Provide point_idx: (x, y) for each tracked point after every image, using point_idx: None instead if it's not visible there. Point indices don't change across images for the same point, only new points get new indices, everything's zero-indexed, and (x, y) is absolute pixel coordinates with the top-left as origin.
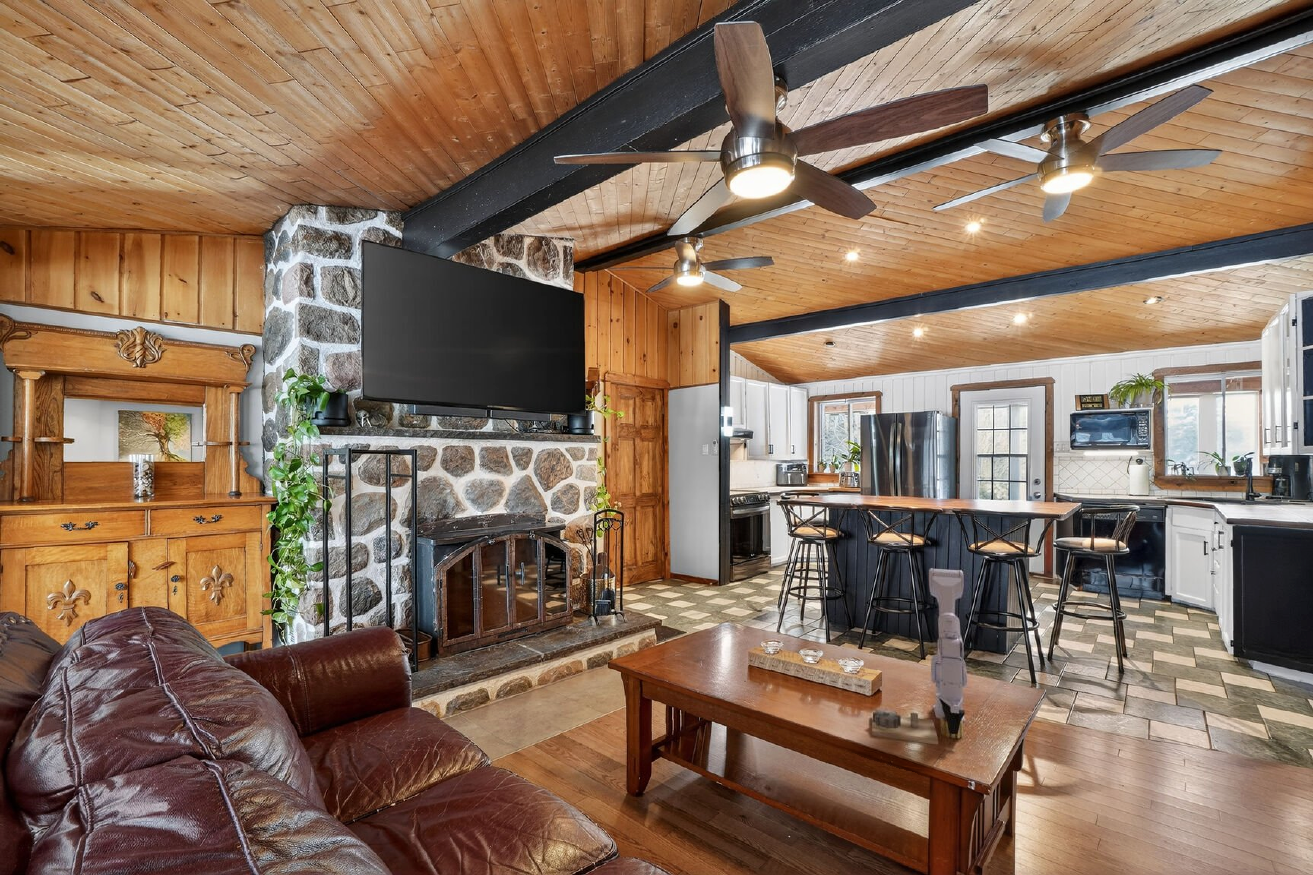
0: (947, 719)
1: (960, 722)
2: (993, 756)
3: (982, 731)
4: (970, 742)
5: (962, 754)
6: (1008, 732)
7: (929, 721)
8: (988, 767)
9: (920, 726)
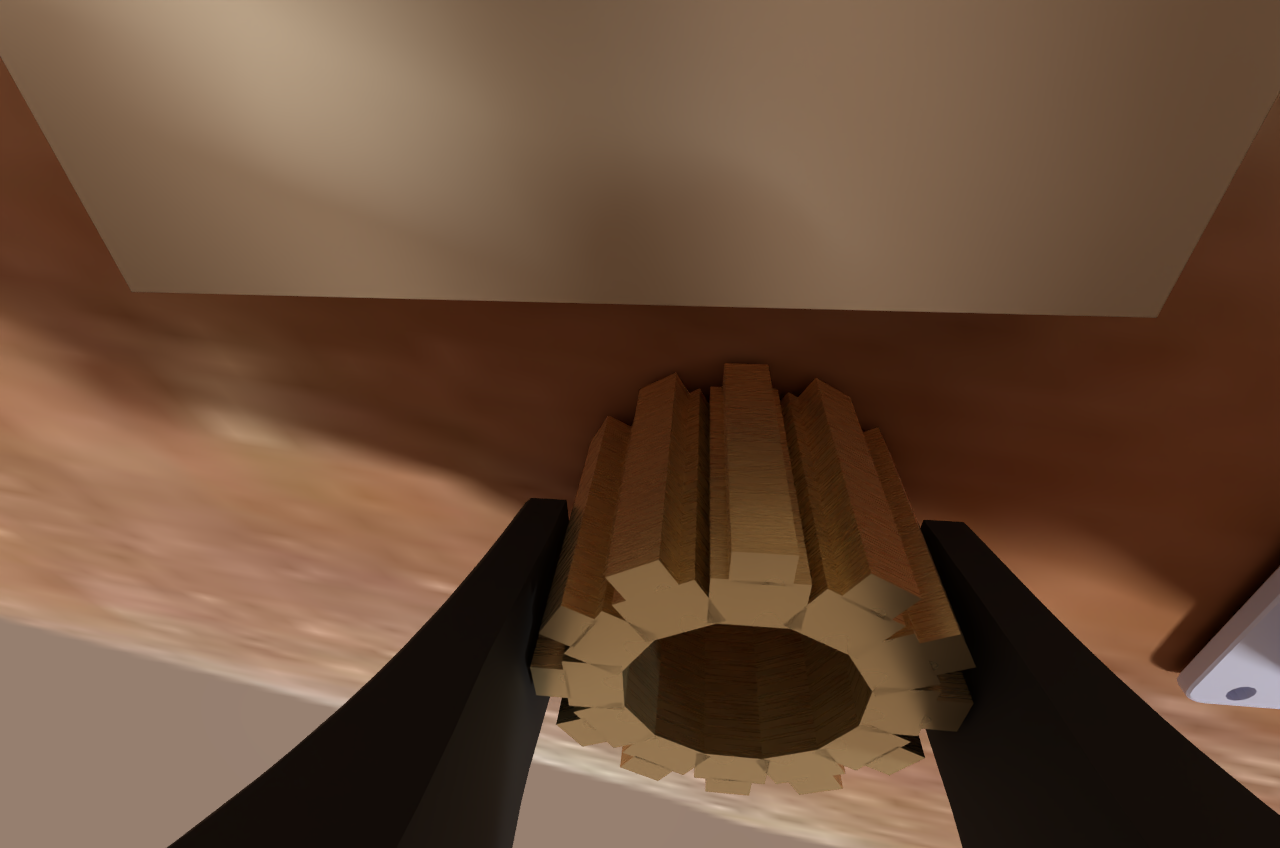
0: (322, 727)
1: (651, 761)
2: (351, 687)
3: None
4: None
5: (185, 493)
6: (898, 842)
7: (1057, 222)
8: (95, 620)
9: None
